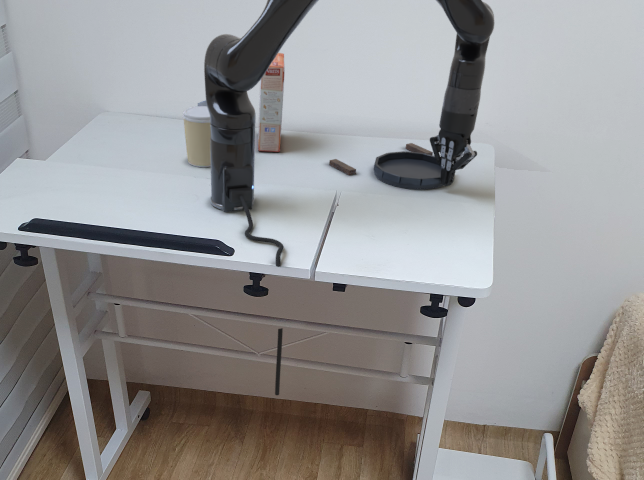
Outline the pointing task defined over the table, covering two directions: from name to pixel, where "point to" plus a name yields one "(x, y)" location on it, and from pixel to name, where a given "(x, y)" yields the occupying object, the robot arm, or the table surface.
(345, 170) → the walnut strips
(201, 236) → the table surface
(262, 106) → the cracker box
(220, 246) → the table surface
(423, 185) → the plate
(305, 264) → the table surface
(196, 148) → the coffee cup
